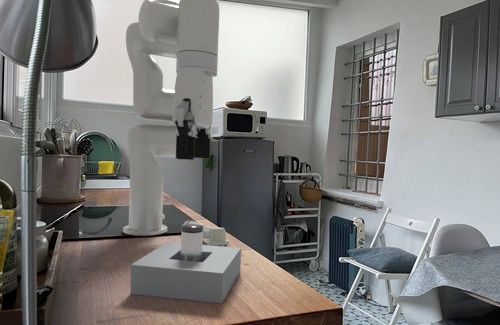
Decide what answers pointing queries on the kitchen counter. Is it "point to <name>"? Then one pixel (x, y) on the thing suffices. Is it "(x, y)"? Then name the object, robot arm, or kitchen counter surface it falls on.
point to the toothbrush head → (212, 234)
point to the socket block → (186, 273)
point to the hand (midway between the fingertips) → (193, 158)
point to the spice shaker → (191, 242)
